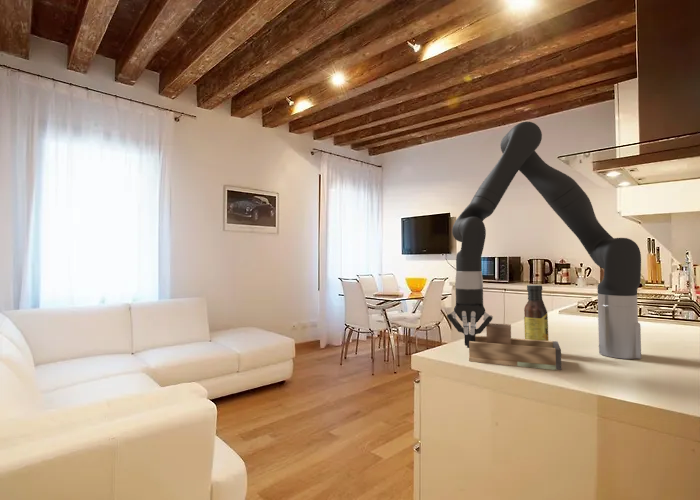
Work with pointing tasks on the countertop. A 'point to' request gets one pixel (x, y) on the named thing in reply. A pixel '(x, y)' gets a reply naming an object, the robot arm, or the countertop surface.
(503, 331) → the block
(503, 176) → the robot arm
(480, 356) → the wooden tray
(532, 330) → the sauce bottle
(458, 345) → the countertop surface
